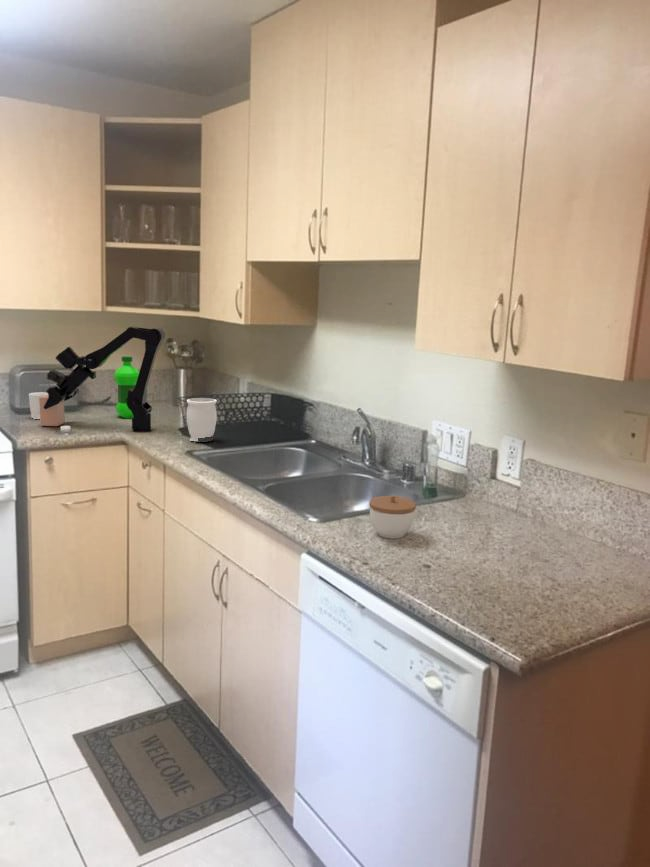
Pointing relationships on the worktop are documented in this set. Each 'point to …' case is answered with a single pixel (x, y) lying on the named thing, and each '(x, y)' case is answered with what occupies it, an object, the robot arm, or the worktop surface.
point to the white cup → (35, 404)
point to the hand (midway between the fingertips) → (48, 406)
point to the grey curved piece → (65, 433)
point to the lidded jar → (392, 515)
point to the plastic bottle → (125, 385)
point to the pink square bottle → (51, 413)
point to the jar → (201, 417)
